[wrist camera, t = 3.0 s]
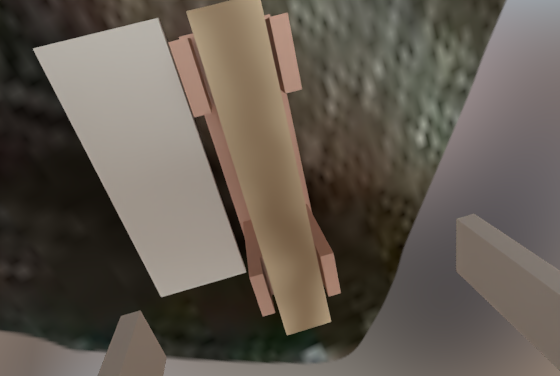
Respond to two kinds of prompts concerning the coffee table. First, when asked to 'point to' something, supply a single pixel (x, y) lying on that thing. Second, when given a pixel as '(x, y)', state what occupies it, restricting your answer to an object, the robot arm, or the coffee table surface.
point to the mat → (146, 151)
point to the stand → (205, 105)
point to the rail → (262, 153)
